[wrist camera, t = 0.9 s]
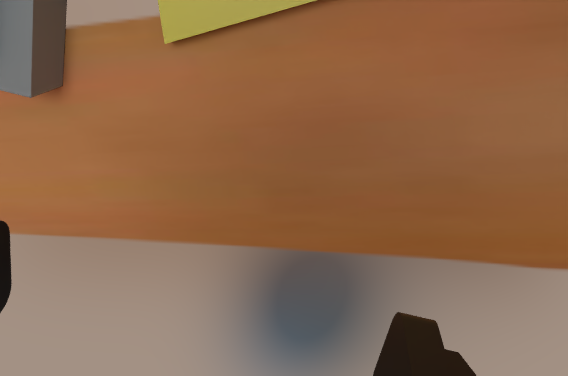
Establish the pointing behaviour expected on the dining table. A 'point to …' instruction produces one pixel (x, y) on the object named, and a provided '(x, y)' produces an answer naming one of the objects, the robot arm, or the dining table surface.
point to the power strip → (32, 45)
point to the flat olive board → (213, 14)
